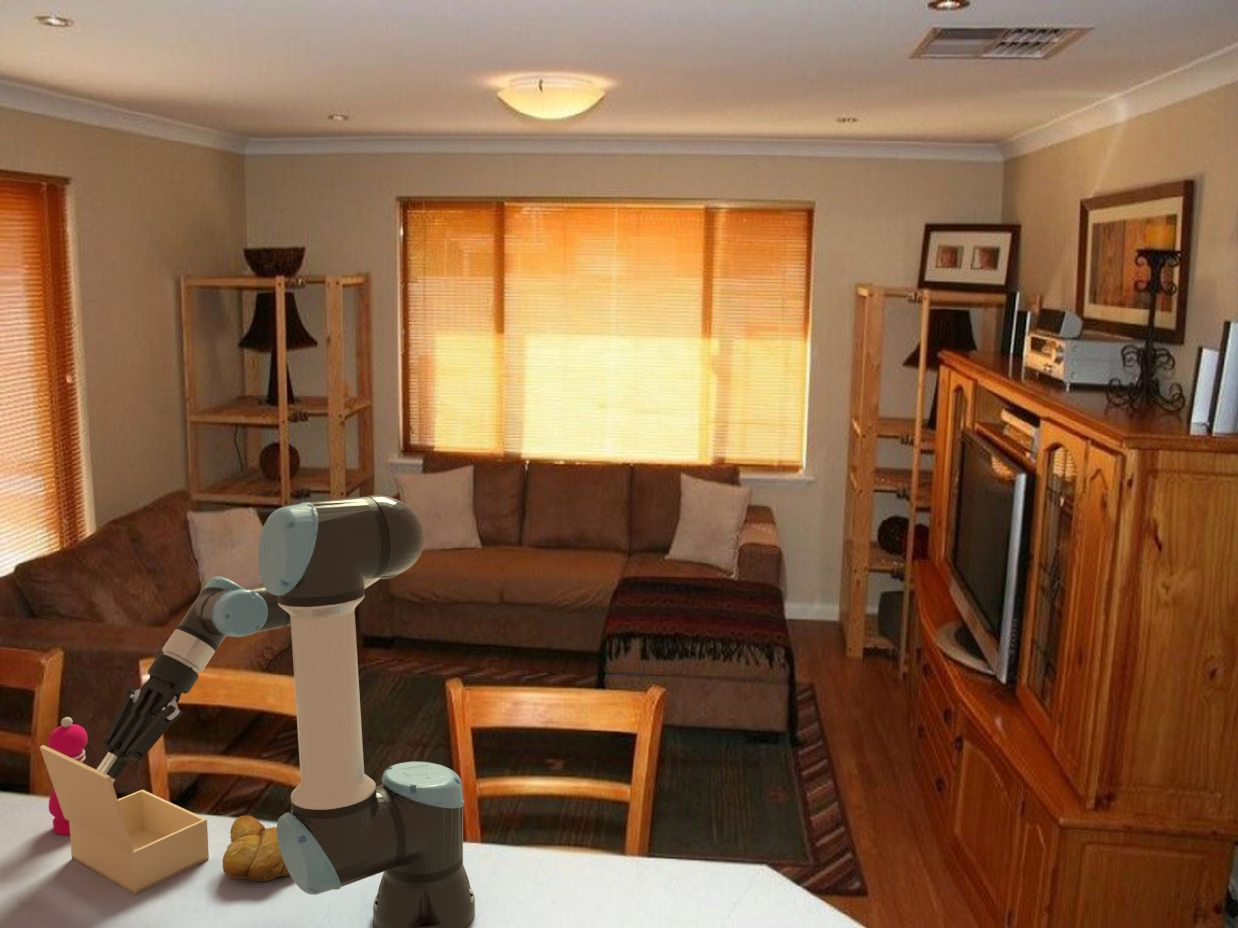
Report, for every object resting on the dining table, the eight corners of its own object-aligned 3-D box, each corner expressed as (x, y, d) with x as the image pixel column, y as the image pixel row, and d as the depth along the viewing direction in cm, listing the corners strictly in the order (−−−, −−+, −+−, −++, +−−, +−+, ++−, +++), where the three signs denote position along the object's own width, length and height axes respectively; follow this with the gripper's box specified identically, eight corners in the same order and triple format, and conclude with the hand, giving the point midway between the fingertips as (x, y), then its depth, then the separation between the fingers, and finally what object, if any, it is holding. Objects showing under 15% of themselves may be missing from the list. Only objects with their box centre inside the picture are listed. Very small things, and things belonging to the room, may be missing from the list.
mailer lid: (110, 775, 162) (106, 778, 161) (135, 849, 166) (130, 852, 166) (44, 744, 172) (39, 746, 171) (68, 815, 177) (64, 818, 176)
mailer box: (208, 858, 178) (207, 819, 177) (135, 894, 168) (133, 852, 167) (144, 827, 188) (142, 789, 187) (71, 858, 178) (69, 818, 176)
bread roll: (314, 860, 179) (312, 815, 177) (287, 892, 169) (286, 845, 168) (241, 853, 181) (239, 808, 179) (210, 884, 171) (208, 837, 170)
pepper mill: (105, 818, 191) (99, 711, 188) (78, 838, 184) (71, 727, 181) (69, 814, 192) (61, 707, 189) (40, 834, 185) (32, 723, 182)
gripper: (219, 682, 180) (133, 815, 170) (172, 664, 188) (86, 791, 177) (189, 661, 175) (98, 797, 164) (141, 644, 182) (51, 773, 172)
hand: (92, 794), depth 171 cm, fingers closed, pressing on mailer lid
